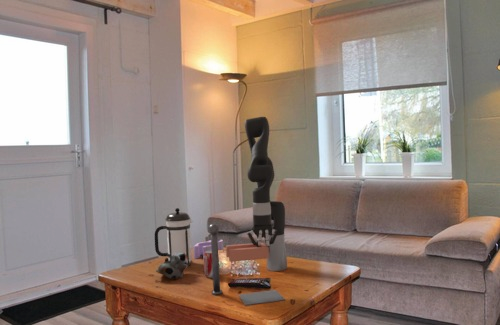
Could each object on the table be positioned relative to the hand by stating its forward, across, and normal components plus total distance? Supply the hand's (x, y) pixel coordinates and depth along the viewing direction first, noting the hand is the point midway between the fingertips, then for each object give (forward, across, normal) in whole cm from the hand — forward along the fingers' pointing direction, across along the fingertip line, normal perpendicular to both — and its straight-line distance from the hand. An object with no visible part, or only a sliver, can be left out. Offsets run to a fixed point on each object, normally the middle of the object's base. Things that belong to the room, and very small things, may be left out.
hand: (263, 254), depth 181 cm
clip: (+15, +14, -72) cm, 75 cm away
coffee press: (+15, +33, -58) cm, 68 cm away
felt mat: (+16, +3, +6) cm, 17 cm away
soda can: (+16, +18, -30) cm, 39 cm away
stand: (+16, +19, -5) cm, 25 cm away
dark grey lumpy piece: (+16, +36, -36) cm, 54 cm away
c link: (+1, +7, 0) cm, 7 cm away
